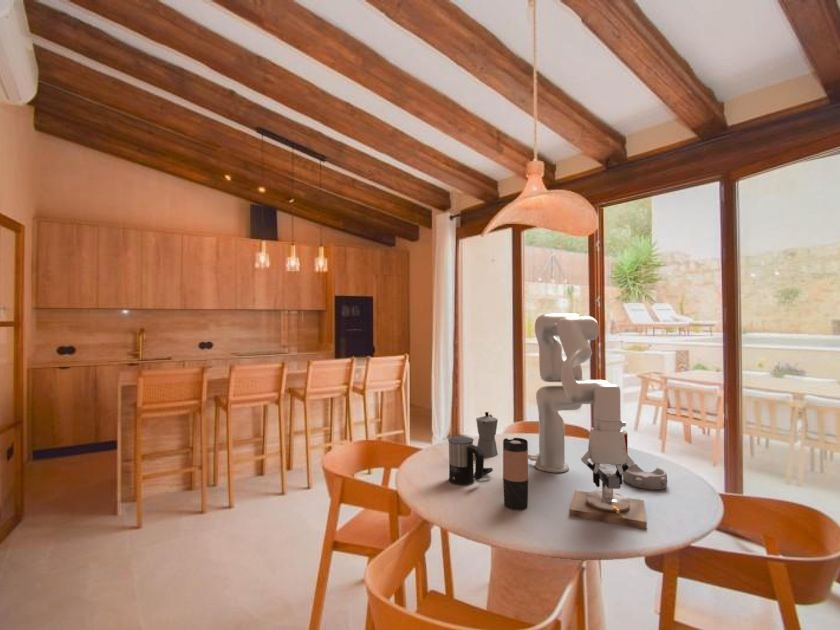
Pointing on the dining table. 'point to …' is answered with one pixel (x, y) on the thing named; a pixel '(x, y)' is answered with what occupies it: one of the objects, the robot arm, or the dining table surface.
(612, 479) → the door handle
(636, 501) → the dial stand
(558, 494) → the dining table surface
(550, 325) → the robot arm
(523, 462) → the travel mug
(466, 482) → the milk frother
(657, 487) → the dish
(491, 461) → the dining table surface
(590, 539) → the dining table surface
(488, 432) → the coffeepot
